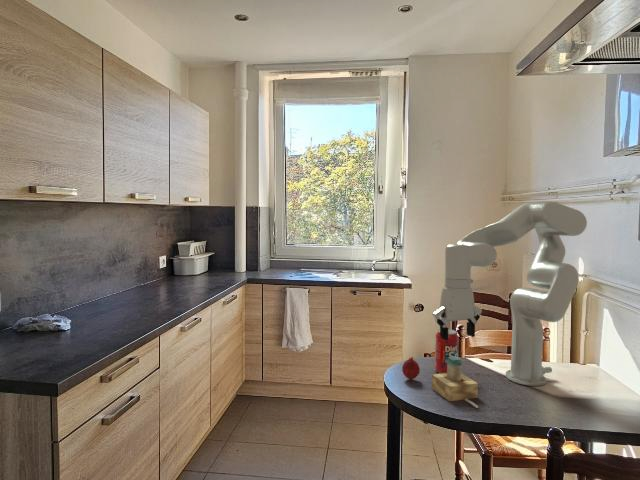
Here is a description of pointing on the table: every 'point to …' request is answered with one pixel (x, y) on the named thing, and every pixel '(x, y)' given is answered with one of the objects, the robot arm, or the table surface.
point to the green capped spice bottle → (454, 369)
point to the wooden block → (454, 387)
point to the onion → (410, 368)
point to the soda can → (445, 350)
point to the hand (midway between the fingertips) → (457, 337)
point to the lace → (471, 403)
